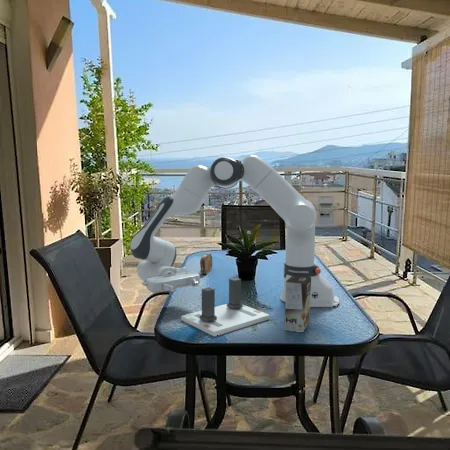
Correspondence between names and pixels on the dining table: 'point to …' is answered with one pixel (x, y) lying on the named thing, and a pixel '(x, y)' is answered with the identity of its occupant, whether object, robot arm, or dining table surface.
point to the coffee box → (297, 303)
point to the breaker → (234, 293)
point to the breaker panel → (226, 319)
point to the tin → (206, 263)
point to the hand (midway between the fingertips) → (185, 286)
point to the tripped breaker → (208, 305)
